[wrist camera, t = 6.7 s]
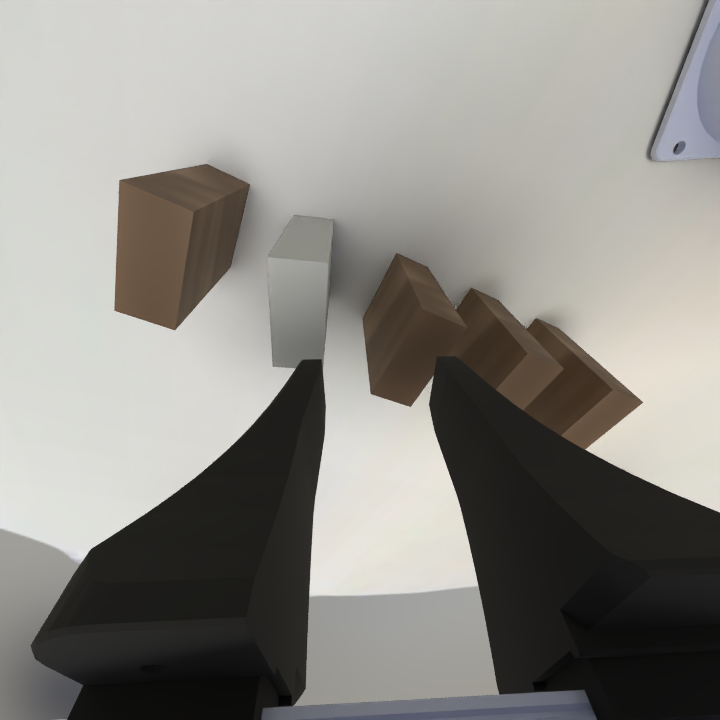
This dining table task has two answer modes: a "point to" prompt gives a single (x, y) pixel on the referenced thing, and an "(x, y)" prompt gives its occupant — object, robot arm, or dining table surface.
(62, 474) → the dining table surface
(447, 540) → the dining table surface
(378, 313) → the domino
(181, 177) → the domino
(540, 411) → the domino
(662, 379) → the dining table surface
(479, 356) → the domino
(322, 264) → the domino
